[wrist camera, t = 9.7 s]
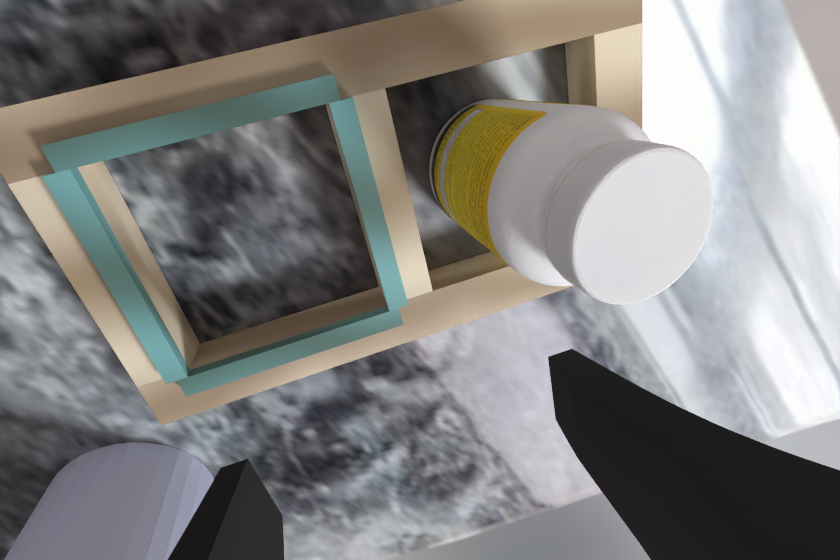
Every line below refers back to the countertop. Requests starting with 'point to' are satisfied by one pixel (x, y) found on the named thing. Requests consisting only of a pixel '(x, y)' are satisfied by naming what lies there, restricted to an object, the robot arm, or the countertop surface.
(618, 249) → the supplement bottle
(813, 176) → the countertop surface
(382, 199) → the panel
